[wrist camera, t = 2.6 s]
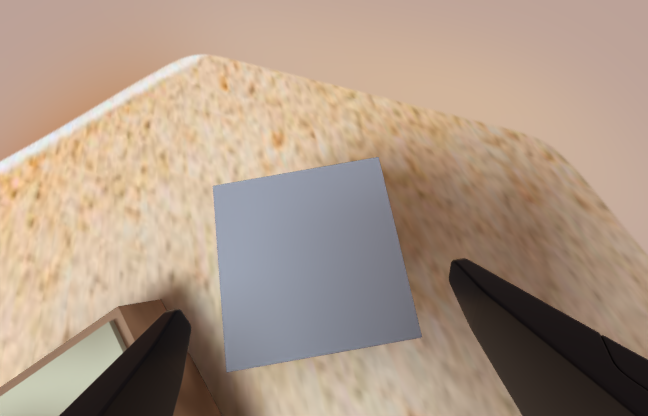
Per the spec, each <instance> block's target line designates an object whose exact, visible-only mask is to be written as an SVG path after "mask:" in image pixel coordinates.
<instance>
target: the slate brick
mask: <svg viewBox="0 0 648 416" xmlns="http://www.w3.org/2000/svg"><path fill="white" fill-rule="evenodd" d="M213 195H214V209H215V222H216V236H217V250H218V264H219V277H220V291H221V305H222V319H223V333H224V346H225V360H226V372H232V371H238V370H243V369H249V368H254V367H260V366H265V365H271V364H276V363H282V362H288V361H293V360H299V359H304V358H310V357H315V356H321V355H327V354H332V353H338V352H343V351H349V350H354V349H360V348H366V347H371V346H377V345H382V344H388V343H393V342H399V341H404V340H410V339H416V338H421V337H422V335H421V330H420V326H419V322H418V318H417V314H416V310H415V306H414V301H413V297H412V293H411V289H410V285H409V281H408V277H407V273H406V268H405V264H404V260H403V256H402V252H401V248H400V244H399V239H398V235H397V231H396V227H395V223H394V219H393V215H392V211H391V206H390V202H389V198H388V194H387V190H386V186H385V182H384V177H383V173H382V169H381V165H380V161H379V157H376V158H370V159H364V160H358V161H353V162H347V163H341V164H336V165H330V166H324V167H319V168H313V169H307V170H301V171H296V172H290V173H284V174H279V175H273V176H267V177H261V178H256V179H250V180H244V181H239V182H233V183H227V184H221V185H216V186H213Z"/></svg>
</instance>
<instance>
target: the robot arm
mask: <svg viewBox="0 0 648 416" xmlns="http://www.w3.org/2000/svg"><path fill="white" fill-rule="evenodd" d="M449 282H450V285H451V287H452V289H453V291H454V294H455V296H456V298H457V300H458V302H459V304H460V306H461V309H462V311H463V313H464V315H465V317H466V319H467V322H468V324H469V326H470V328H471V329H472V331H473V333H474V335H475V337H476V338H477V340H478V342H479V343H480V345H481V347H482V348H483V350H484V352H485V353H486V355H487V357H488V358H489V360H490V362H491V363H492V365H493V367H494V368H495V370H496V372H497V374H498V375H499V377H500V379H501V380H502V382H503V384H504V385H505V387H506V389H507V390H508V392H509V394H510V395H511V397H512V399H513V400H514V402H515V404H516V405H517V407H518V409H519V411H520V412H521V414H522V416H648V360H647V359H646V358H644V357H642V356H640V355H638V354H636V353H634V352H633V351H631V350H629V349H627V348H625V347H623V346H622V345H620V344H618V343H616V342H614V341H613V340H611V339H609V338H607V337H606V336H603V335H600V334H599V333H598V332H596V331H595V330H593V329H591V328H589V327H588V326H586V325H584V324H582V323H580V322H579V321H577V320H575V319H573V318H571V317H570V316H568V315H566V314H564V313H563V312H561V311H559V310H557V309H555V308H554V307H552V306H550V305H548V304H546V303H545V302H543V301H541V300H539V299H538V298H536V297H534V296H532V295H530V294H529V293H527V292H525V291H523V290H521V289H520V288H518V287H516V286H514V285H513V284H511V283H509V282H507V281H505V280H504V279H502V278H500V277H498V276H496V275H495V274H493V273H491V272H489V271H488V270H486V269H484V268H482V267H480V266H479V265H477V264H475V263H473V262H472V261H470V260H468V259H465V258H462V259H456V260H453V261H452V262H451V267H450V274H449ZM190 334H191V325H190V323H189V321H188V320H187V318H186V317H185V315H184V314H183V312H182V311H181V310H180V309H174V310H168V311H166V312H164V313H163V314H162V315H161V316H160V317H159V318H158V319H157V320H156V321H155V322H154V323H153V324H152V325H151V326H150V327H149V328H148V329H147V330H146V331H145V332H144V333H143V334H142V335H141V336H140V337H138V338H137V339H136V340H135V341H134V342H133V343H132V344H131V345H130V346H129V347H128V348H127V349H126V350H125V351H124V352H123V353H122V354H121V355H120V356H119V357H118V358H117V359H116V360H115V361H114V362H113V363H112V364H111V365H110V366H109V367H108V368H107V369H106V370H105V371H104V372H103V373H102V374H101V375H100V376H99V377H98V378H97V379H96V380H95V381H94V382H93V383H92V384H91V385H90V386H89V387H88V388H87V389H86V390H85V391H84V392H82V393H81V394H80V395H79V396H78V397H77V398H76V399H75V400H74V401H73V402H72V403H71V404H70V405H69V406H68V407H67V408H66V409H65V410H64V411H63V412H62V413H61V414H60V415H59V416H173V414H174V410H175V406H176V403H177V399H178V395H179V392H180V388H181V384H182V380H183V375H184V369H185V363H186V357H187V351H188V345H189V340H190Z"/></svg>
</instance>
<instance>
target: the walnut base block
mask: <svg viewBox="0 0 648 416" xmlns="http://www.w3.org/2000/svg"><path fill="white" fill-rule="evenodd" d="M164 312H166V309H165V307H164V305H163V303H162V301H161V300H155V301H149V302H143V303H136V304H130V305H124V306H118V307H117V308H115V309H114V310H112V311H111V312H109V313H108V314H106V315H105V316H103V317H102V318H101V319H99V320H98V321H96V322H95V323H93V324H92V325H90V326H89V327H87V328H86V329H85V330H83V331H82V332H80V333H79V334H77V335H76V336H74V337H73V338H71V339H70V340H69V341H67V342H66V343H64V344H63V345H61V346H60V347H58V348H57V349H55V350H54V351H53V352H51V353H50V354H48V355H47V356H45V357H44V358H42V359H41V360H39V361H38V362H37V363H35V364H34V365H32V366H31V367H29V368H28V369H26V370H25V371H23V372H22V373H21V374H19V375H18V376H16V377H15V378H13V379H12V380H10V381H9V382H7V383H6V384H4V385H3V386H2V387H0V416H59V415H60V414H61V413H62V412H63V411H64V410H65V409H66V408H67V407H68V406H69V405H70V404H71V403H72V402H73V401H74V400H75V399H76V398H77V397H78V396H79V395H80V394H81V393H82V392H84V391H85V390H86V389H87V388H88V387H89V386H90V385H91V384H92V383H93V382H94V381H95V380H96V379H97V378H98V377H99V376H100V375H101V374H102V373H103V372H104V371H105V370H106V369H107V368H108V367H109V366H110V365H111V364H112V363H113V362H114V361H115V360H116V359H117V358H118V357H119V356H120V355H121V354H122V353H123V352H124V351H125V350H126V349H127V348H128V347H129V346H130V345H131V344H132V343H133V342H134V341H135V340H136V339H137V338H138V337H140V336H141V335H142V334H143V333H144V332H145V331H146V330H147V329H148V328H149V327H150V326H151V325H152V324H153V323H154V322H155V321H156V320H157V319H158V318H159V317H160V316H161V315H162V314H163V313H164ZM173 416H222V415H221V413H220V411H219V410H218V408H217V406H216V404H215V402H214V400H213V398H212V396H211V394H210V392H209V391H208V389H207V387H206V385H205V383H204V381H203V379H202V377H201V375H200V373H199V372H198V370H197V368H196V366H195V364H194V362H193V360H192V358H191V356H190V354H189V353H188V351H187V357H186V363H185V369H184V375H183V380H182V384H181V388H180V392H179V395H178V399H177V403H176V406H175V410H174V414H173Z"/></svg>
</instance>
